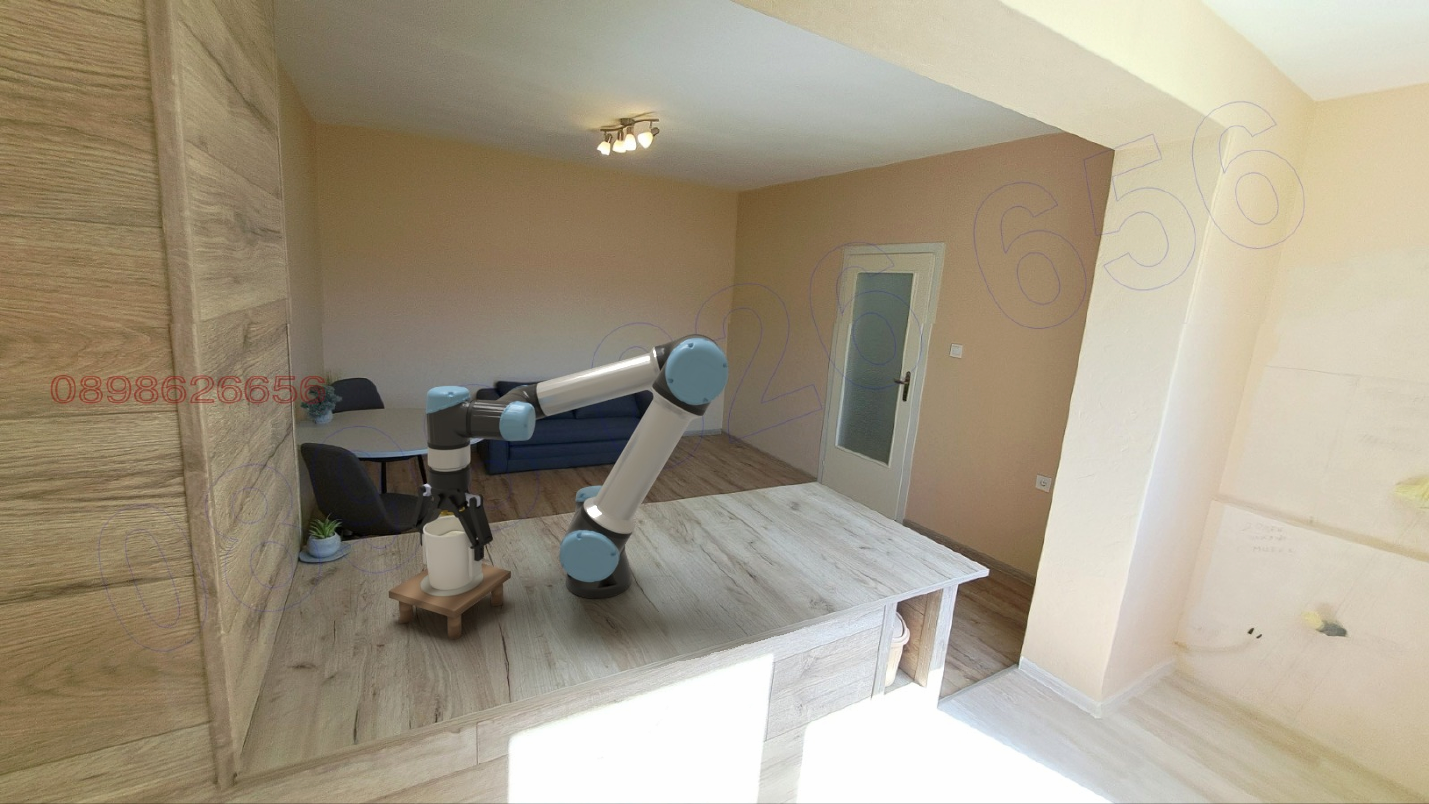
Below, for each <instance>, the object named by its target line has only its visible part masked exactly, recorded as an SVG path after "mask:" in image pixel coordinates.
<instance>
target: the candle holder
mask: <svg viewBox="0 0 1429 804" xmlns="http://www.w3.org/2000/svg"><path fill="white" fill-rule="evenodd" d="M423 532H424V540H425V549H426V558H427V564H426V566H427V568H426V569H428V577H429V583H430V585H431V586H432V587H433V588H435V589H439V590H452V589H457V588H460V587H463V586H465V585H467V584H468V583H470V582H471V581H472V580H473V578H474V577H469V546H470V545H472V544H471V542H470V540H469V538H468V536H467V534H466V532H465V530H464V528H463V526H462V524H461V523H460V521H459V519H458V518H457V517H455V516H445V517H441V518H439V517H438V518H437V519H436V520H434V521H432V522H430V523H427V524H426V525H425V526H424V528H423Z"/></svg>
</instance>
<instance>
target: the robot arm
mask: <svg viewBox="0 0 1429 804" xmlns="http://www.w3.org/2000/svg"><path fill="white" fill-rule="evenodd" d="M729 367H730V366H729V363H728V358H727V356H726V355H725V352H724V351H723V350H722V348H721V347H720V346H719V345H718V344H717V342H716V341H715V340H713V339H712V338H711V337H709V336H707V335H704V334H700V333H692V334H687V335H684V336H681V337H678V338H677V339H674V340H672V341H668V342H665V343H663V344H659V345H656V346H653V347H652V349H651V350H650V351H649V352H647V353H645V354H644V353H643V354H639V355H637V356H634V357H630V358H627V359H623V360H620V361H619V360H618V361H615V362H611V363H607V364H604V365H601V366H596V367H593V368H589V369H585V370H580V371H577V372H575V373H570V374H567V375H563V376H559V377H555V378H552V379H549V380H544V381H541V382H537V383H534V384H530V385H526V384H525V385H520V386H516V387H514V388H512V389H510V390H509V391H508V392H507V393H505V394H503V396H501V397H500V398H498V399H497V400H489V399H475V398H471V394H470V390H469V389H468V388H466V387H464V386H459V385H443V386H436V387H432V388H431V389H429V390H428V391H427V393H426V402H425V405H426V406H425V407H426V408H425V414H426V415H425V416H426V417H425V418H426V433H427V434H426V435H427V437H426V438H427V466H429V468H428V470H427V473H428V479H427V480H428V483H426V484H422V485H419V486H418V488H417V489H418V490H417V491H418V492H417V494H418V497H417V500H416V506H415V508H414V511H413V515H412V519H411V523H410V527H411V528H412V529H416V530H417V532H418V533H419V537H420V538H419V539H420V540H419V541H420V542H419V545H420V546H421V547H422V548H421V549H422V564H424V565H427V558H426V549H425V540H424V532H423V528H424V526H425V525H426V524H427V523H430V522H432V521H434V520H436V519H437V518H439V515H440V514H441V512H442V510H447V511H449V512H452V513H453V514H454V516H455V517H457V518H458V519H459V521H460V523H461V524H462V526H463V528H464V530H465V532H466V534H467V536H468V538H469V540H470V542H471V544H472V545H470V546H469V577H474V576H475V575H477V574H478V573H480V572H481V571H482V564H483V563H482V562H483V561H482V560H483V559H484V558H485V546H486V545H487V544H489V543H491V542H492V541H494V537H493V534H492V530H491V527H490V524H489V520H488V516H487V514H486V509H485V507H484V495H483V494H482V493H478V494H477V495H475V494H471V492H470V489H469V487H470V484H471V481H472V473H471V472H472V470H471V469H472V468H471V467H472V466H471V465H470V463H471V439H482V440H498V441H508V442H514V441H515V442H516V441H517V442H519V441H528V440H530V439H531V438H532V436H533V433H534V431H535V427H536V421H537V420H540V419H544V418H547V417H549V416H554V415H558V414H562V413H564V412H569V411H572V410H575V409H579V408H583V407H587V406H590V405H594V404H599V403H602V402H606V401H608V400H609V401H610V400H612V399H617V398H621V397H624V396H628V395H632V394H635V393H639V392H643V391H647V390H650V389H651V392H652V396H653V398H652V401H651V402H650V404H649V406H648V407H647V409H646V410H645V413H644V414H643V416H642V417H641V419H640V421H639V422H638V424H637V426H636V427H635V430H634V431H633V433H632V434H631V436H630V438H629V440H627V444H625V447H624V448H623V450H622V452H621V454H620V455H619V456H618V459H617V460H616V462H615V464H614V466H613V467H612V469H611V471H610V472H609V474H608V476H607V477H606V479H605V481H604V483H603V485H591V486H586V487H583V488H580V489H579V490H577V492H576V493H575V494H576V495H575V499H574V502H575V511H574V515H573V517H572V519H571V522H570V524H569V526H568V528H567V530H566V533H565V536H564V537H563V539H562V540H561V541H560V544H559V550H558V551H559V552H558V554H559V555H558V558H559V562H560V565H561V567H562V569H563V570H564V571H565V573H566V575H565V584H566V589H568V590H569V591H570V592H571V593H572V594H574V595H577V596H578V597H581V598H587V599H605V598H606V599H607V598H611V597H615V596H617V595H619V594H622V593H623V592H625V591H626V590H627V589H628V588H629V587H630V585H631V583H632V569H631V565H630V562H629V559H628V555H627V552H626V545H627V543H628V541H629V539H630V538H631V535H632V534H633V533H634V531H635V529H636V524H635V523H636V522H635V520H634V516H635V515H636V513H637V511H638V509H639V508H640V506H641V505H642V503H643V501H644V500H645V498H646V497H647V495H648V493H649V492H650V489H652V486H653V485H654V483H655V481H656V480H657V478H658V476H660V475H659V474H660V473H661V472H662V470H663V468H664V466H665V465H666V463H667V462H668V460H669V458H670V456H671V455H672V454H673V451H674V450H675V448H676V446H677V445H678V443H679V441H680V440H681V438H682V436H683V435H684V433H685V432H686V430H687V428H688V426H689V425H690V423H691V422H692V421H693V420H696V419H700V418H703V416H704V415H705V414H706V411H707V410H708V408H709V407H710V405H711V404H712V402H713V401H714V400H715V399H717V398H718V397H719V396H720V395H721V394H722V393H723V392H724V390H725V388H726V385H727V384H728V379H729V373H730V372H729V371H730V368H729ZM432 499H433V501H432ZM463 507H464V508H465V509H464V510H463V511H459V510H461V509H462V508H463Z"/></svg>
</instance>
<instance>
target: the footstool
mask: <svg viewBox="0 0 1429 804" xmlns="http://www.w3.org/2000/svg"><path fill="white" fill-rule="evenodd" d="M510 579H512V571H511V570H507V569H505V568H501V567H500V568H499V567H497V566H493V565H488V564H485V563H482V571H481V572H480V573H478V574H477V575H475V576H474V578H473V580H472V581H471V582H470V583H468V584H467V585H465V586H463V587H460V588H457V589H452V590H439V589H435V588H433V587H432V586H431V585H430V583H429V577H428V568H426V569H424V570H423V571H420V572H419V573H417V574H415V575H413V576H412V577H411V578H409V579H406V580H405V581H402V583H399V584H398V585H396V586H395V587H393V588H391V589H390V590H388V598H389V599H391V600H394V601H397V602H398V610H399V611H398V612H399V614H398V616H399V623H401V624H408V623H410V622H412V621H413V620H414V606H415V607H418V608H421V609H424V610H427V611H429V612H434V613H437V614H439V615H443V616H446V617H447V618H446V619H447V620H446V621H447V622H446V623H447V638H448V639H449V640H456V639H459V638H461V636H462V614H463V613H464V612H466V611H467V610H468V609H470V608H471V607H472V606H474V605H475V604H477V603H478V602H479V601H481V600H482V599H483V598H485V597H486V596H488V595H489V594H490V604H491V606H493V607H499V606H501V605H503V603H504V583H505V582H507V581H508V580H510Z"/></svg>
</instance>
